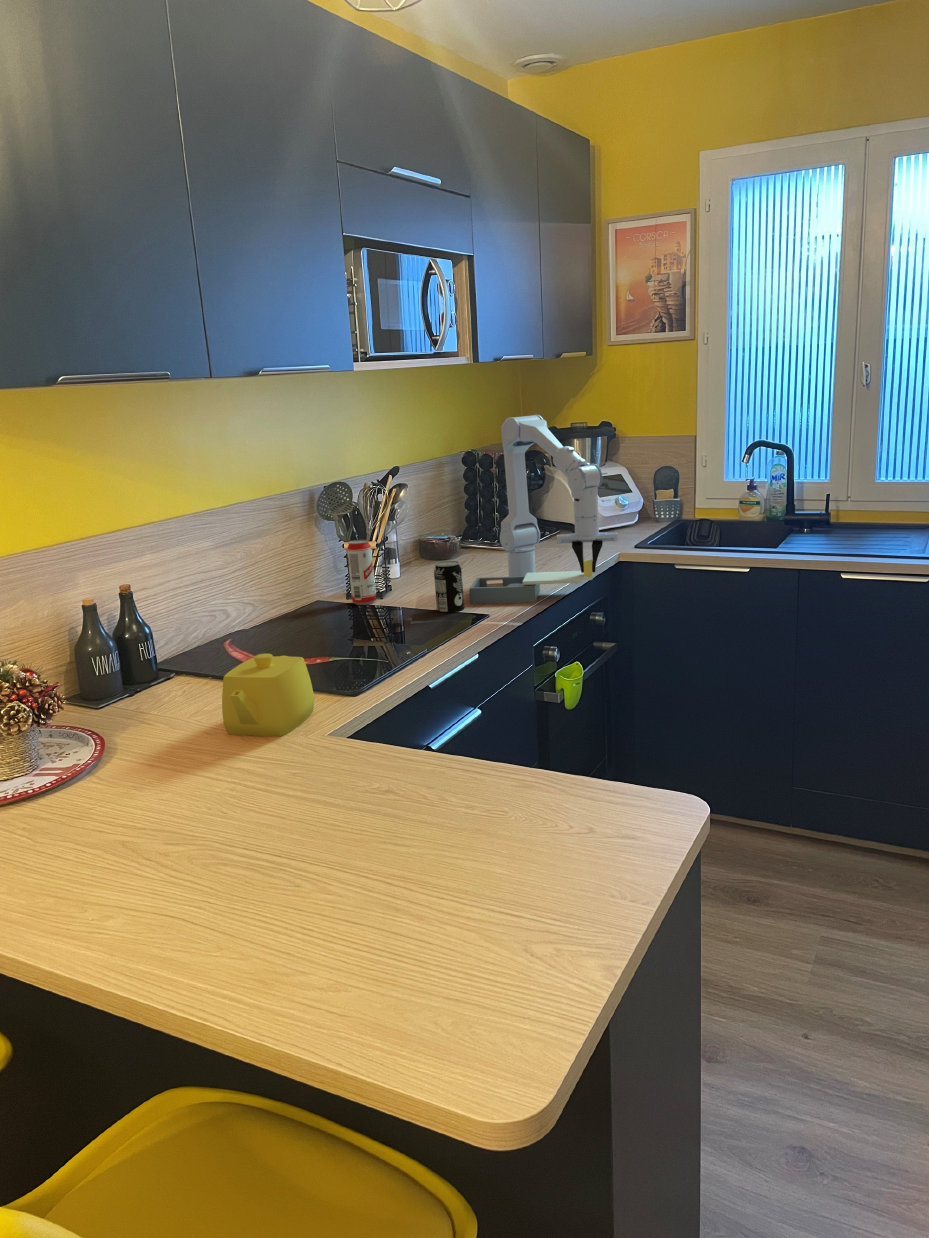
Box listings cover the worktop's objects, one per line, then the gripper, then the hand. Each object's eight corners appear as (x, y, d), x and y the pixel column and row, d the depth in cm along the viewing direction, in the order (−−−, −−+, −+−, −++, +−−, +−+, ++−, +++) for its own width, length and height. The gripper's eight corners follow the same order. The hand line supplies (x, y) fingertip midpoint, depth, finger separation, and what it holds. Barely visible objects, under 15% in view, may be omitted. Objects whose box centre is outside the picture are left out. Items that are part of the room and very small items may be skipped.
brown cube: (512, 597, 225) (511, 583, 224) (527, 597, 224) (526, 583, 223) (506, 600, 222) (505, 587, 221) (521, 601, 220) (520, 587, 219)
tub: (478, 594, 233) (477, 577, 232) (540, 593, 230) (539, 575, 229) (470, 606, 222) (469, 588, 220) (535, 604, 219) (534, 586, 217)
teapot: (275, 749, 141) (265, 677, 138) (204, 746, 144) (194, 675, 141) (327, 704, 159) (319, 640, 156) (263, 702, 163) (255, 639, 160)
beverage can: (465, 608, 220) (462, 559, 217) (463, 614, 214) (459, 565, 211) (439, 609, 221) (435, 561, 218) (435, 616, 215) (431, 566, 212)
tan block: (487, 594, 231) (486, 580, 230) (503, 592, 230) (502, 579, 230) (487, 597, 227) (486, 583, 226) (503, 596, 227) (502, 582, 226)
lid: (527, 575, 228) (526, 558, 227) (593, 573, 225) (592, 556, 224) (522, 584, 219) (521, 566, 218) (591, 582, 216) (591, 564, 215)
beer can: (348, 605, 232) (341, 543, 228) (359, 599, 238) (353, 539, 234) (369, 605, 230) (363, 543, 226) (380, 600, 235) (375, 539, 231)
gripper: (554, 520, 214) (557, 576, 218) (616, 517, 212) (618, 574, 215) (557, 515, 221) (559, 570, 225) (617, 512, 219) (618, 568, 222)
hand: (588, 571), depth 220 cm, fingers closed on lid, 2 cm apart
